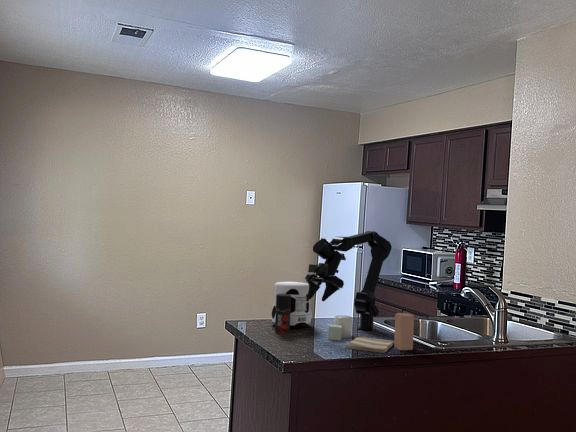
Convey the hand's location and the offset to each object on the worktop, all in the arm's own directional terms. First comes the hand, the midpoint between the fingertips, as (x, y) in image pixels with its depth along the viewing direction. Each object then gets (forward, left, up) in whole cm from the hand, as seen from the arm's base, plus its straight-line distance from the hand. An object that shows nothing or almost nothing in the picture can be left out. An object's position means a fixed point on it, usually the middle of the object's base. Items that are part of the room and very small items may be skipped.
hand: (315, 299), depth 218 cm
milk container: (-15, -16, -15) cm, 26 cm away
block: (-2, +8, -15) cm, 17 cm away
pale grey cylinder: (-9, +9, -14) cm, 19 cm away
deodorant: (-1, -14, -15) cm, 20 cm away
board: (+3, +23, -14) cm, 28 cm away
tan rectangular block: (0, +35, -14) cm, 38 cm away
